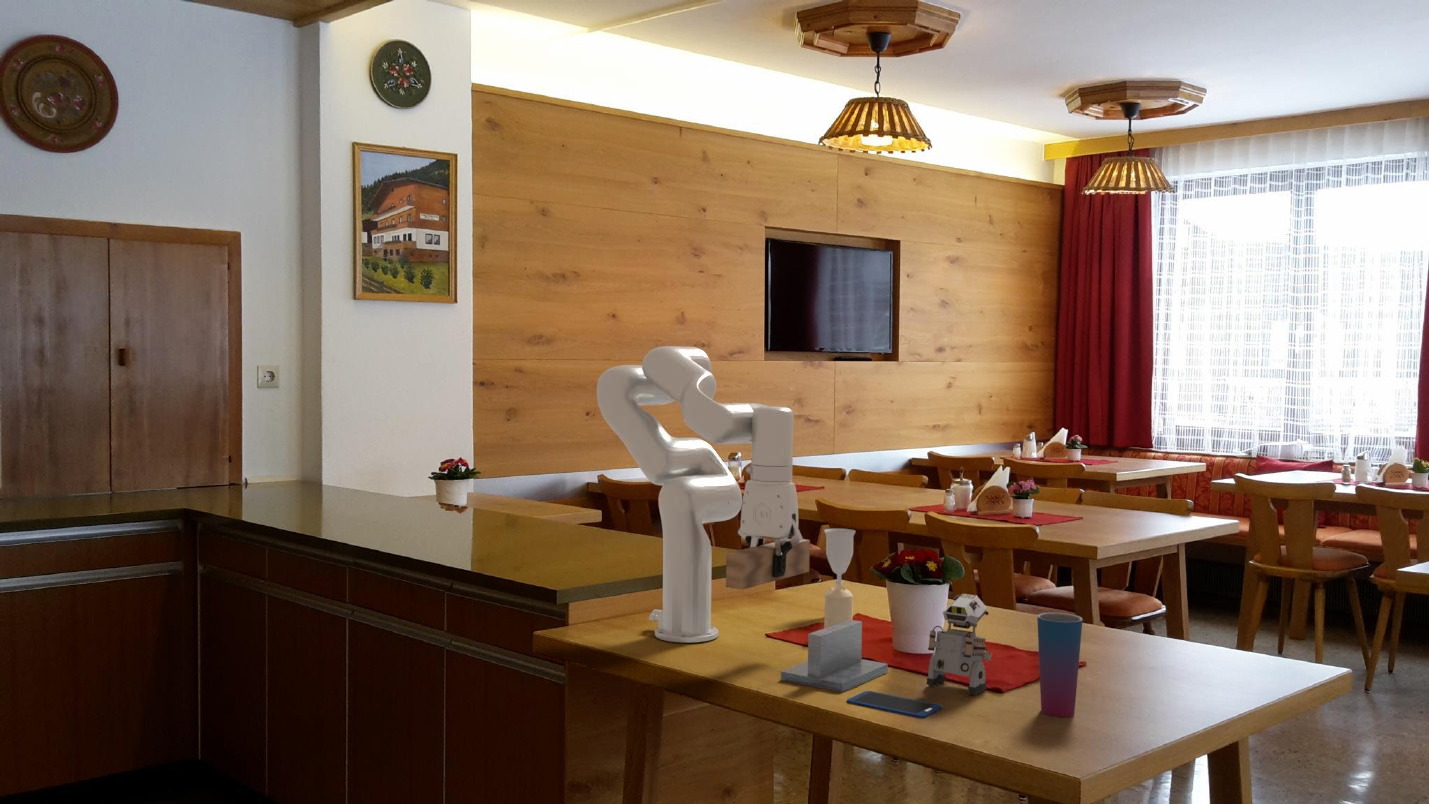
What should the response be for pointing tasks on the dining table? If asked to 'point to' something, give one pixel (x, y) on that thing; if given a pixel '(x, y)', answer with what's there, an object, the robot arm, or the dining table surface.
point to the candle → (838, 606)
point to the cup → (1058, 662)
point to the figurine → (960, 645)
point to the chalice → (839, 550)
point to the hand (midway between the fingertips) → (769, 573)
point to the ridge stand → (835, 660)
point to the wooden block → (763, 565)
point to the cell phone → (895, 704)
